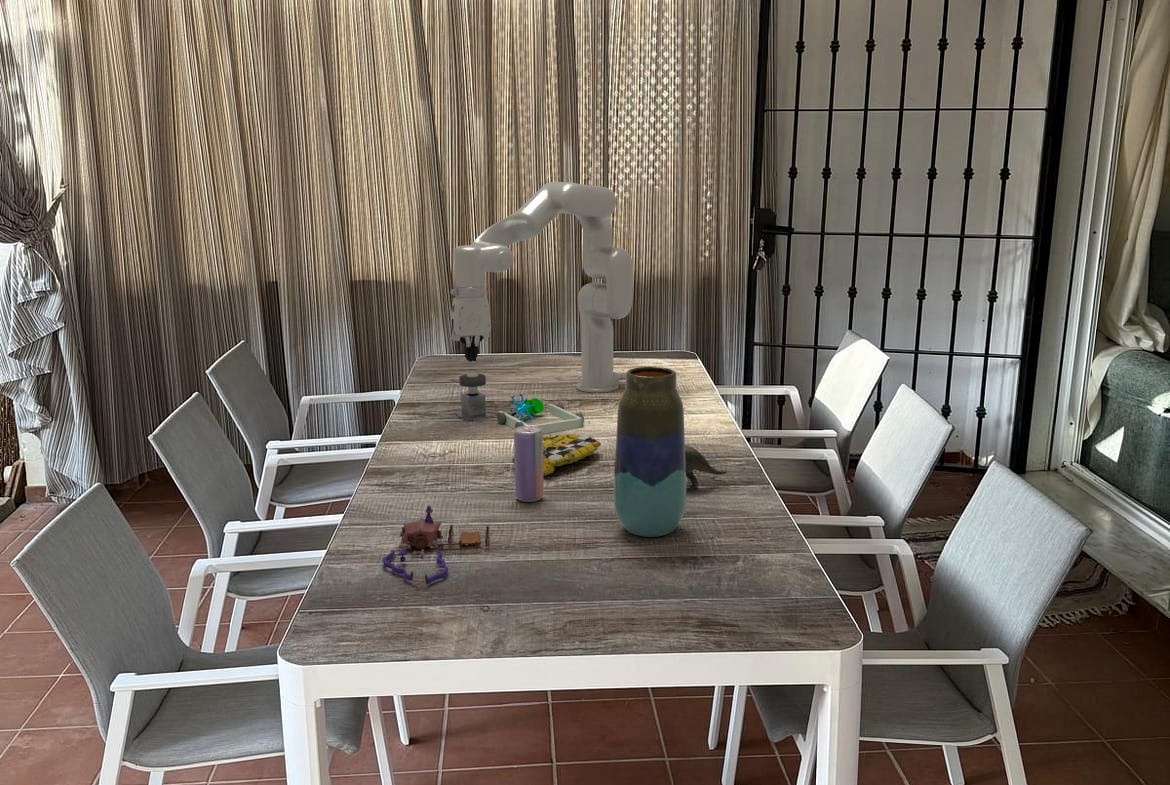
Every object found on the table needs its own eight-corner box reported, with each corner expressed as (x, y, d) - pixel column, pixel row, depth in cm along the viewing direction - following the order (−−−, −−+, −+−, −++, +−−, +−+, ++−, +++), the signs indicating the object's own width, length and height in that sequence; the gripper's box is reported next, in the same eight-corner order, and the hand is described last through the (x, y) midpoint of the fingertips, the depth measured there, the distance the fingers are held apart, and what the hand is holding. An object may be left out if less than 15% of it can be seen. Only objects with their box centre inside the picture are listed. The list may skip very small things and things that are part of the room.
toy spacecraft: (496, 470, 237) (495, 449, 236) (553, 445, 256) (552, 426, 255) (556, 482, 229) (556, 461, 227) (610, 456, 247) (610, 436, 246)
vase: (664, 548, 191) (666, 383, 183) (600, 534, 198) (599, 374, 191) (697, 525, 202) (701, 368, 195) (635, 512, 209) (636, 360, 202)
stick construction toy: (520, 420, 271) (509, 394, 273) (504, 432, 276) (493, 405, 277) (551, 415, 280) (540, 389, 282) (535, 426, 285) (524, 401, 286)
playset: (488, 583, 177) (487, 545, 176) (376, 588, 176) (374, 550, 174) (489, 530, 201) (488, 496, 200) (390, 534, 200) (388, 500, 198)
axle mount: (481, 410, 288) (480, 389, 287) (493, 417, 281) (492, 395, 280) (454, 414, 284) (453, 393, 283) (465, 421, 277) (465, 399, 276)
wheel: (479, 388, 286) (479, 370, 285) (490, 393, 280) (489, 375, 279) (456, 391, 282) (455, 373, 281) (466, 397, 276) (465, 378, 275)
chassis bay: (555, 411, 286) (555, 401, 286) (587, 427, 271) (587, 416, 270) (494, 420, 278) (493, 410, 277) (523, 437, 262) (523, 425, 262)
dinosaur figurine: (727, 487, 224) (729, 437, 221) (719, 500, 216) (721, 448, 213) (630, 477, 231) (630, 429, 228) (619, 489, 223) (619, 439, 220)
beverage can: (522, 504, 214) (520, 434, 211) (510, 495, 219) (509, 427, 216) (548, 499, 217) (547, 430, 213) (536, 491, 222) (535, 423, 219)
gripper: (448, 296, 268) (450, 365, 272) (501, 292, 275) (502, 360, 279) (437, 292, 274) (440, 360, 278) (489, 289, 281) (491, 355, 286)
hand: (471, 360), depth 279 cm, fingers closed
